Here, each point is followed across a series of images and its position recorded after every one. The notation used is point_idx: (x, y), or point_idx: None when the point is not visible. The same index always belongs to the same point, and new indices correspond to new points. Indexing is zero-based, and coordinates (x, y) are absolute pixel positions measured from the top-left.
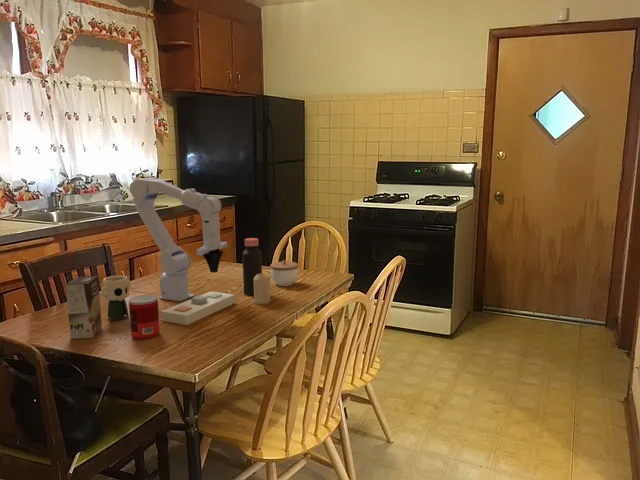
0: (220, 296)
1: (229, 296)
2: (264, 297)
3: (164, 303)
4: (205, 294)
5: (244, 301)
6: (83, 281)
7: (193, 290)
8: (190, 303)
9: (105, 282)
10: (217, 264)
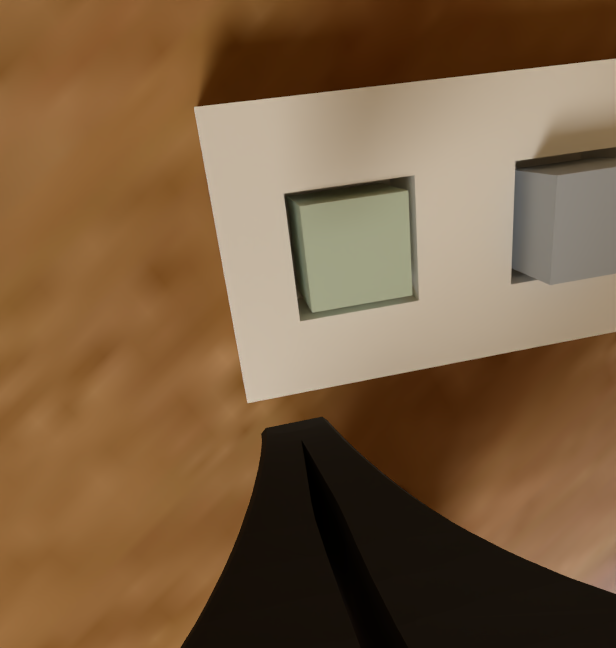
0: (323, 199)
1: (279, 105)
2: None
3: (472, 528)
4: (351, 361)
5: (87, 60)
6: None
7: (148, 630)
8: None
9: None
10: (306, 490)
